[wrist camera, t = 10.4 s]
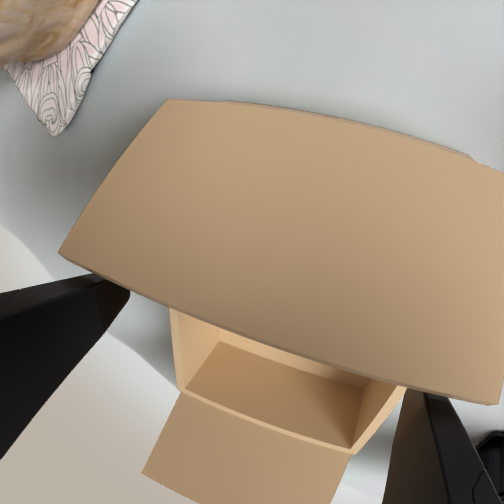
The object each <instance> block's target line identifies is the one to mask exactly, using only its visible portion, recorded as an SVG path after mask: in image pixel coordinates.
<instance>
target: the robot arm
mask: <svg viewBox="0 0 504 504" xmlns="http://www.w3.org/2000/svg"><path fill="white" fill-rule="evenodd" d="M129 298H130V290H128V289H126V288H124V287H122V286H120V285H117V284H115V283H113V282H111V281H109V280H107V279H105V278H102V277H100V276H98V275H96V274H94V273H91V274H87V275H82V276H77V277H73V278H68V279H64V280H59V281H54V282H50V283H45V284H41V285H36V286H32V287H27V288H22V289H20V290H19V289H18V290H13V291H9V292H4V293H0V459H2V458H3V456H4V455H5V454H6V452H7V451H8V450H9V448H10V447H11V446H12V445H13V443H14V442H15V441H16V439H17V438H18V437H19V435H20V434H21V433H22V432H23V430H24V429H25V428H26V426H27V425H28V424H29V423H30V421H31V420H32V418H33V417H34V416H35V415H36V414H37V412H38V411H39V410H40V409H41V407H42V406H43V405H44V404H45V402H46V401H47V400H48V399H49V398H50V396H51V395H52V394H53V393H54V392H55V390H56V389H57V388H58V387H59V385H60V384H61V383H62V382H63V381H64V379H65V378H66V377H67V376H68V375H69V374H70V372H71V371H72V370H73V369H74V368H75V367H76V365H77V364H78V363H79V362H80V361H81V359H82V358H83V357H84V356H85V355H86V354H87V353H88V351H89V350H90V349H91V348H92V347H93V346H94V345H95V343H96V342H97V341H98V340H99V339H100V338H101V337H102V335H103V334H104V333H105V332H106V330H107V329H108V328H109V326H110V325H111V323H112V322H113V321H114V319H115V318H116V317H117V315H118V314H119V312H120V311H121V310H122V308H123V307H124V306H125V304H126V303H127V302H128V300H129ZM382 504H504V433H501V432H494V433H492V434H490V435H489V436H488V437H487V438H486V439H485V440H484V441H483V442H482V443H480V444H479V445H478V446H477V447H476V448H475V447H474V445H473V443H472V441H471V439H470V437H469V435H468V434H467V432H466V430H465V428H464V426H463V424H462V422H461V420H460V419H459V417H458V415H457V413H456V411H455V409H454V408H453V406H452V404H451V402H450V401H449V399H448V397H443V396H439V395H435V394H430V393H426V392H422V391H418V390H414V389H410V388H407V389H406V391H405V394H404V398H403V402H402V407H401V412H400V416H399V420H398V425H397V429H396V433H395V437H394V441H393V446H392V452H391V458H390V465H389V470H388V476H387V482H386V487H385V492H384V497H383V501H382Z"/></svg>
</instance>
